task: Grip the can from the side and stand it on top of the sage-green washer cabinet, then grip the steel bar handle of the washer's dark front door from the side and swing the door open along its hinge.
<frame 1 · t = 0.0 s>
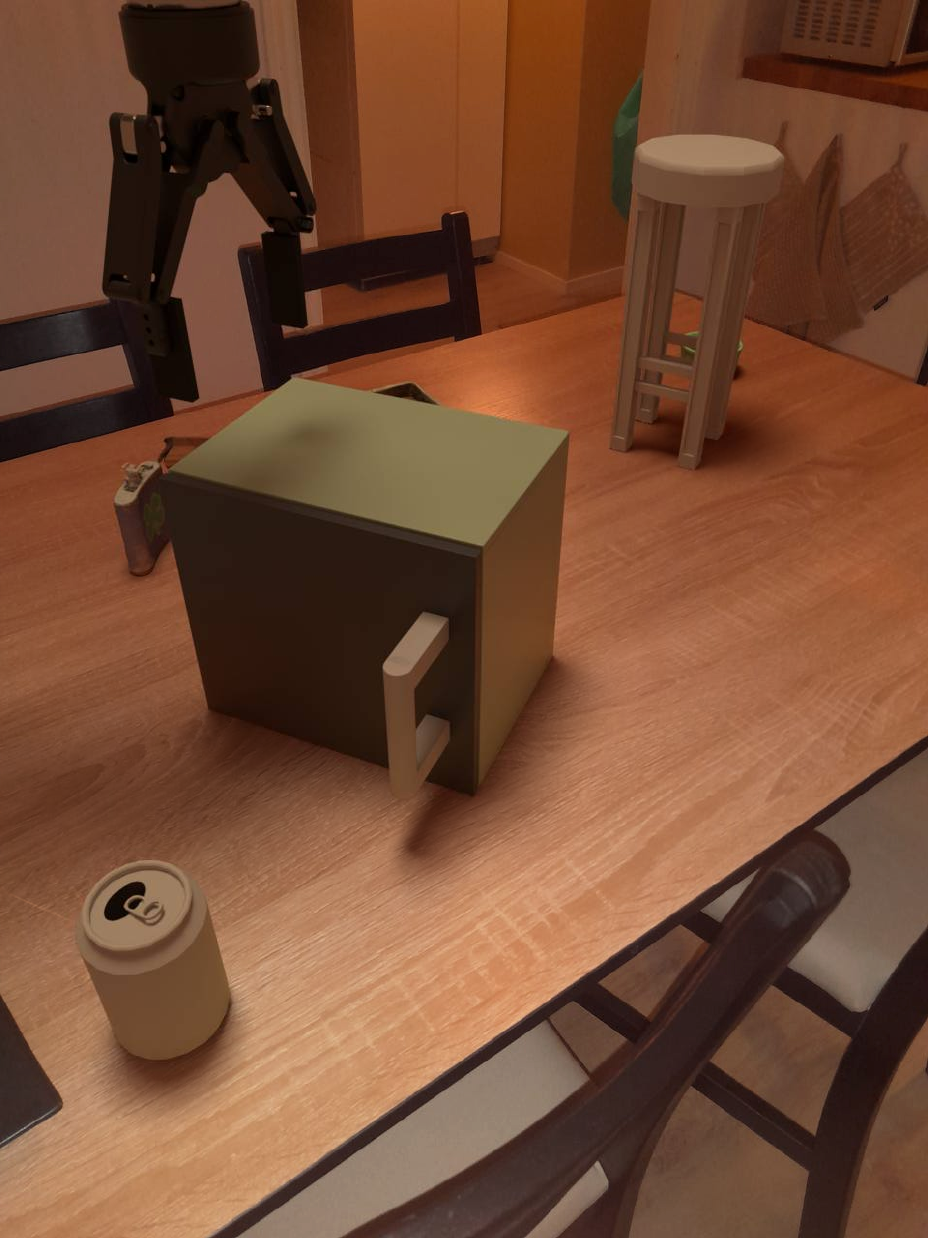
hand: (238, 358, 68), 32 cm above the table, tool pointing down, fingers open, 13 cm apart
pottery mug: (207, 493, 115), on the table
washer door: (301, 667, 72), point 12 cm above the table, hinge at 0.0°
ramekin: (706, 371, 143), on the table
baking dish: (406, 468, 120), on the table
stool: (666, 442, 126), on the table
flask: (152, 554, 105), on the table
washer: (389, 678, 89), on the table
can: (174, 1013, 63), on the table
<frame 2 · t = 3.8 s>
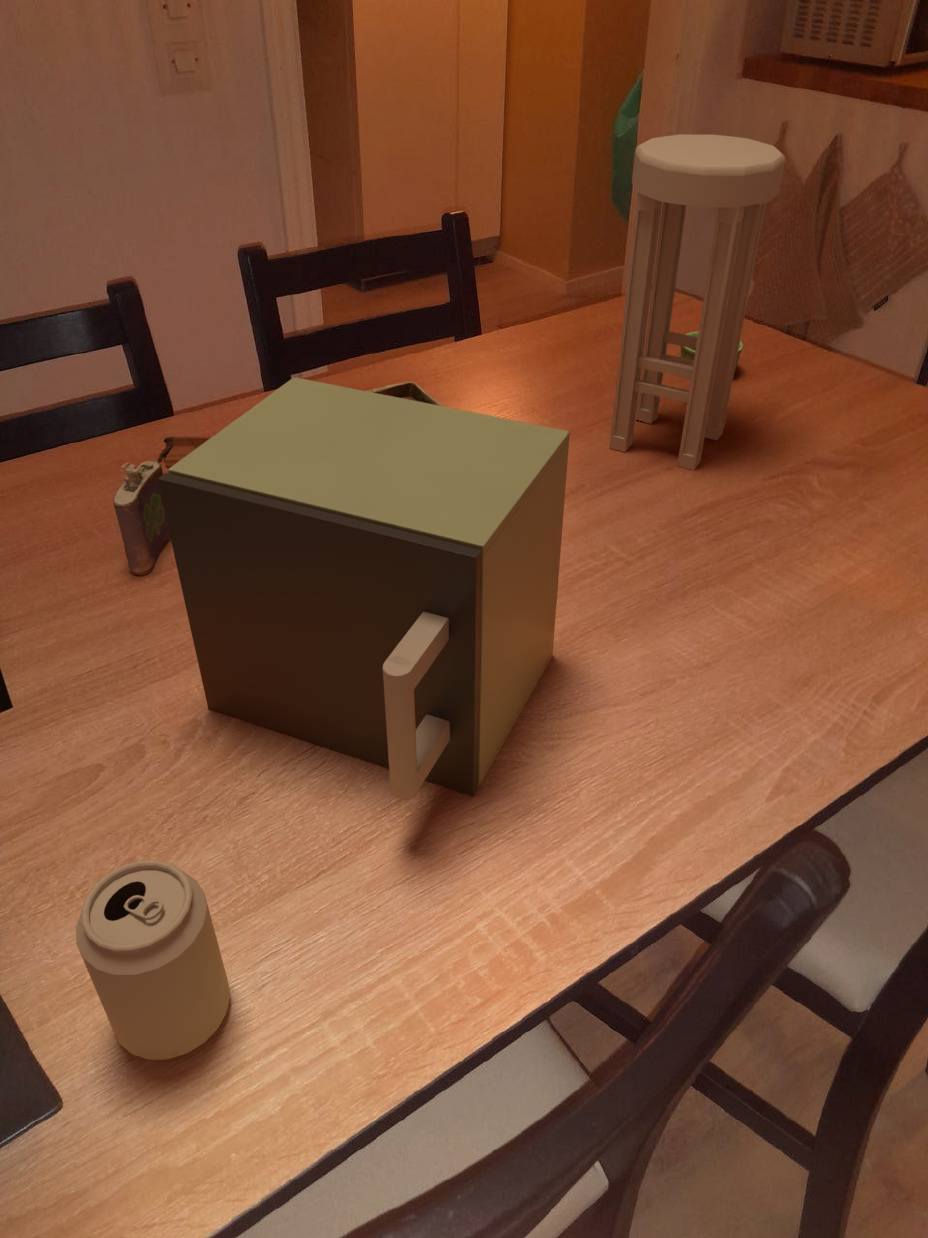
nothing on the table moved.
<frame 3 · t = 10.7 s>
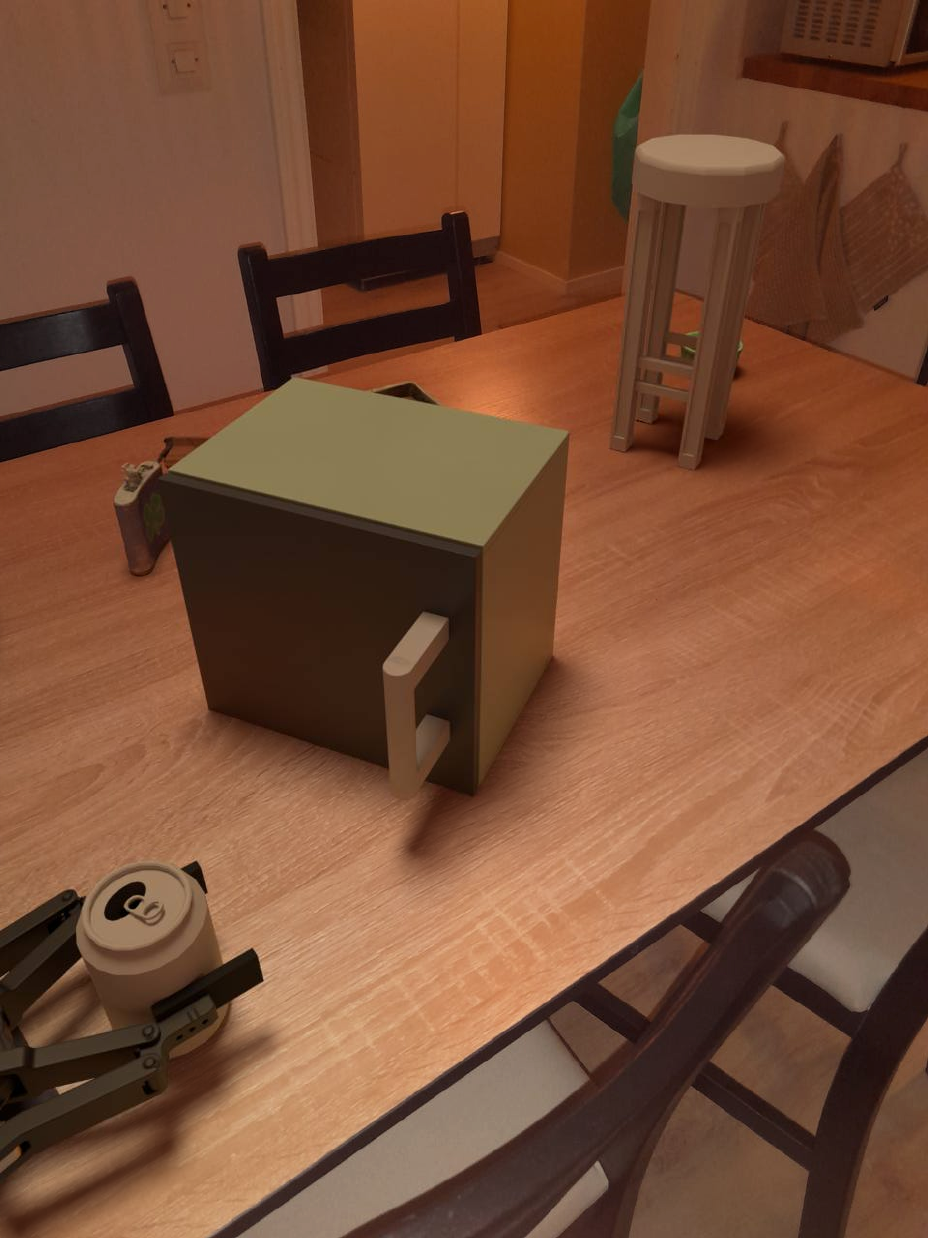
hand: (228, 919, 62), 6 cm above the table, tool horizontal, fingers closed on can, 7 cm apart
can: (174, 1013, 63), on the table, touching gripper
everything else where it was.
when the fingers open (30 cm above the table, at t = 23.4 s): can stays where it is, resting on washer.
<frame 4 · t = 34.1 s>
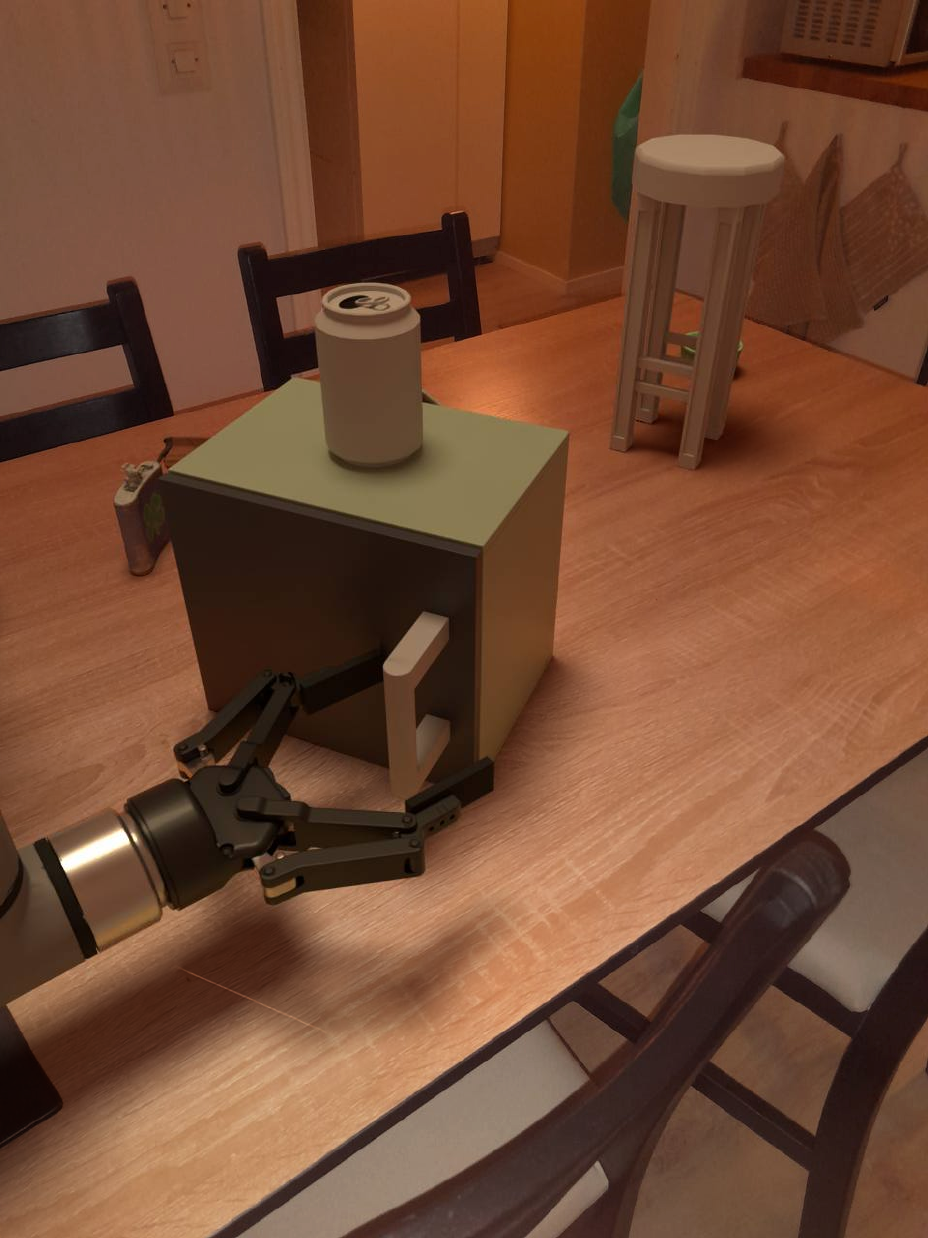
hand: (432, 715, 68), 12 cm above the table, tool horizontal, fingers open, 13 cm apart
washer door: (301, 667, 72), point 12 cm above the table, hinge at -0.1°, touching gripper
can: (375, 451, 75), point 23 cm above the table, touching washer
everything else where it was.
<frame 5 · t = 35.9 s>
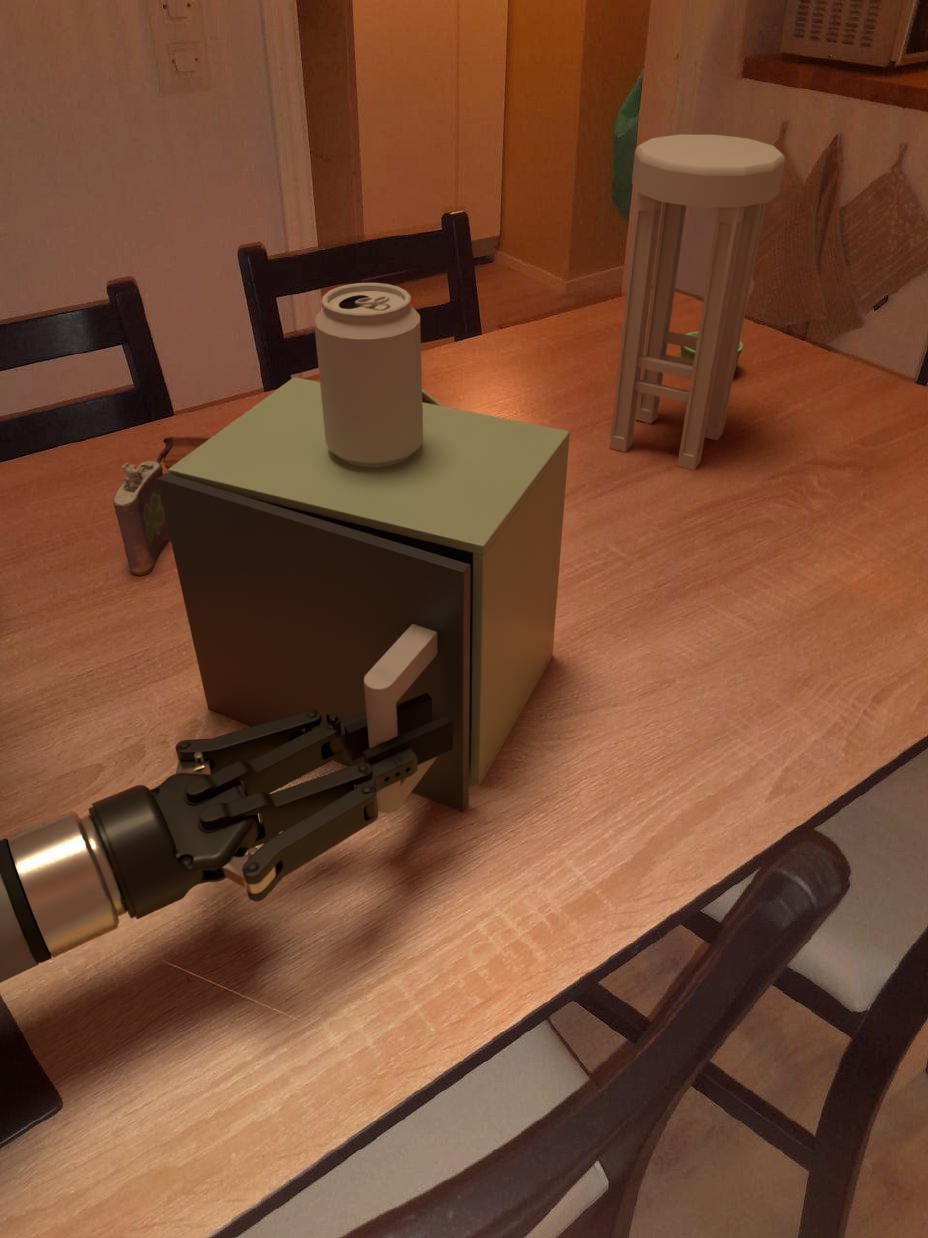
hand: (439, 721, 68), 12 cm above the table, tool horizontal, fingers closed on washer door, 2 cm apart
washer door: (292, 674, 72), point 12 cm above the table, hinge at 4.2°, touching gripper
everything else where it was.
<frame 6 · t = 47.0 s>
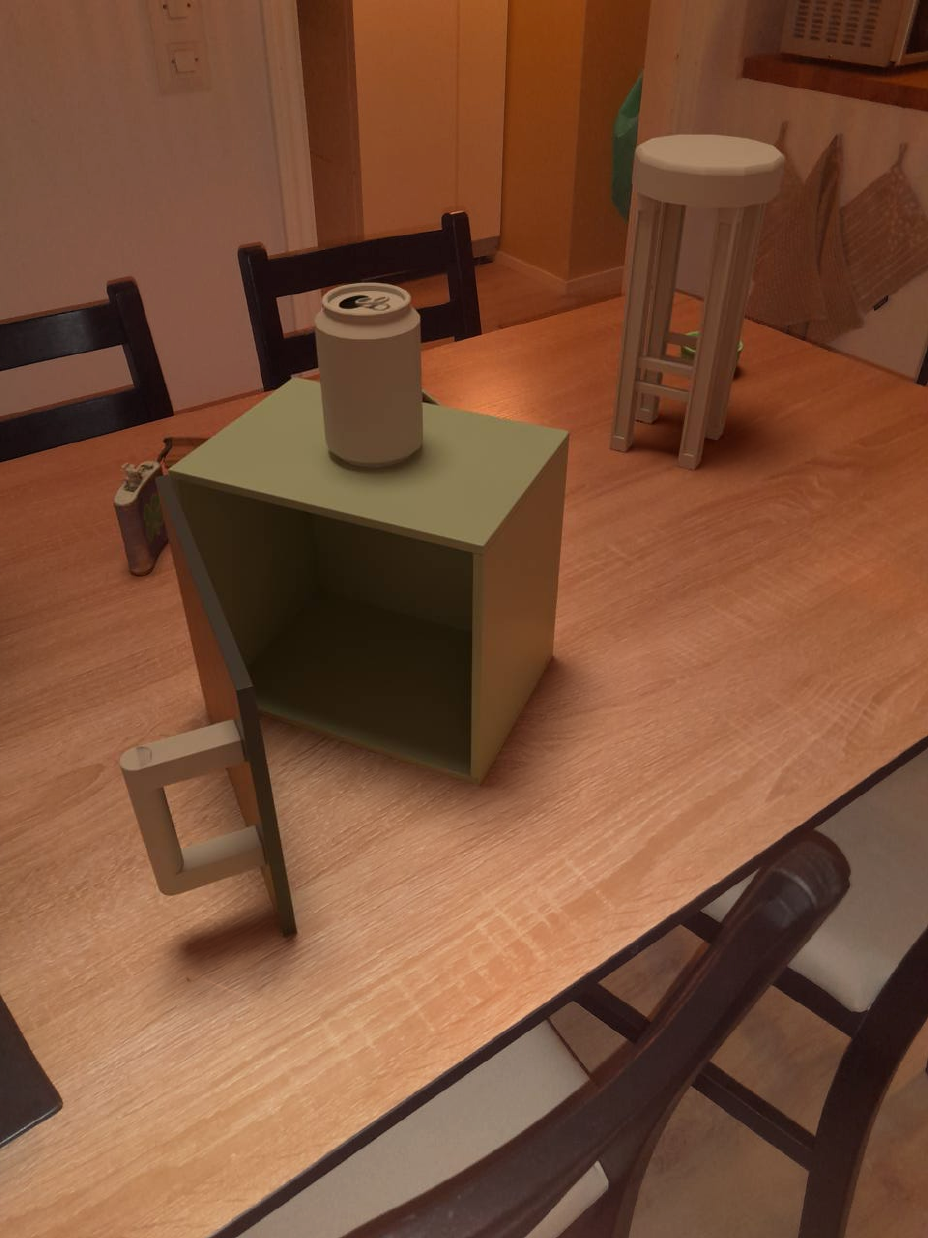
washer door: (175, 712, 69), point 12 cm above the table, hinge at 42.6°
everything else where it was.
at the end: can inside the target area on the washer (0.0 cm from its centre), point 23.4 cm above the washer's base; can tilted 0°; washer door at +43° (first picture: +0°) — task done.
